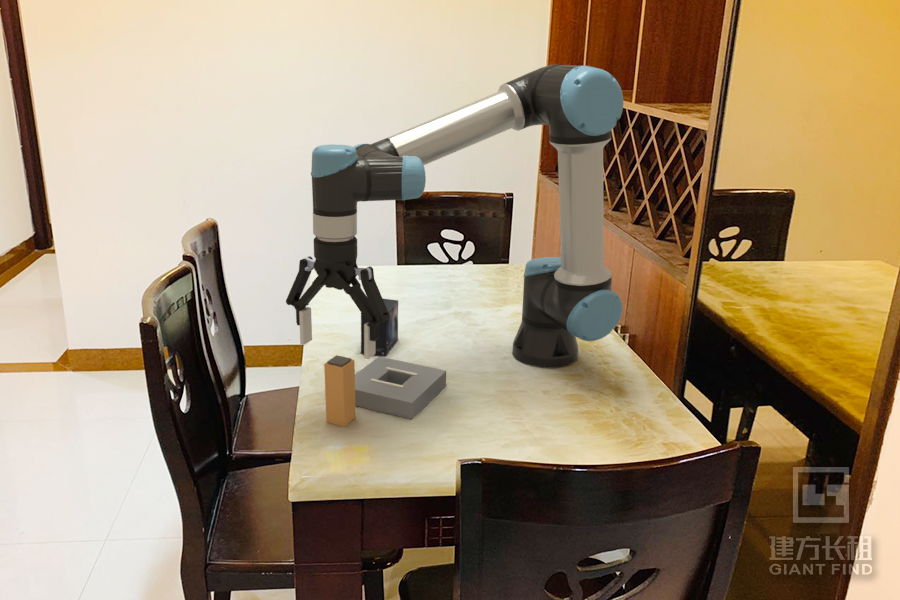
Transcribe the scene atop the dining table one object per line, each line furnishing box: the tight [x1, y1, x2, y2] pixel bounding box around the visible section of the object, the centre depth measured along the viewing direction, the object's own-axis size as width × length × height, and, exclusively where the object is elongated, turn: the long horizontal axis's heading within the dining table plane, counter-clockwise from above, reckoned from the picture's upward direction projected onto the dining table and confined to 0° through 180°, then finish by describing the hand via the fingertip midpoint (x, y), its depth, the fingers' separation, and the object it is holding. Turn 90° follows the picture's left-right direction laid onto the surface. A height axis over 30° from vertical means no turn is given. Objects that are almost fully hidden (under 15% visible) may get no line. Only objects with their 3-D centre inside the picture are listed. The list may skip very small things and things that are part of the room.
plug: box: [323, 354, 357, 427], centre depth 136 cm, size 4×4×12 cm
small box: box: [360, 298, 399, 357], centre depth 169 cm, size 11×6×10 cm, turn 168°
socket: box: [355, 356, 447, 420], centre depth 148 cm, size 16×16×4 cm
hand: (337, 349), depth 133 cm, fingers open, 13 cm apart
